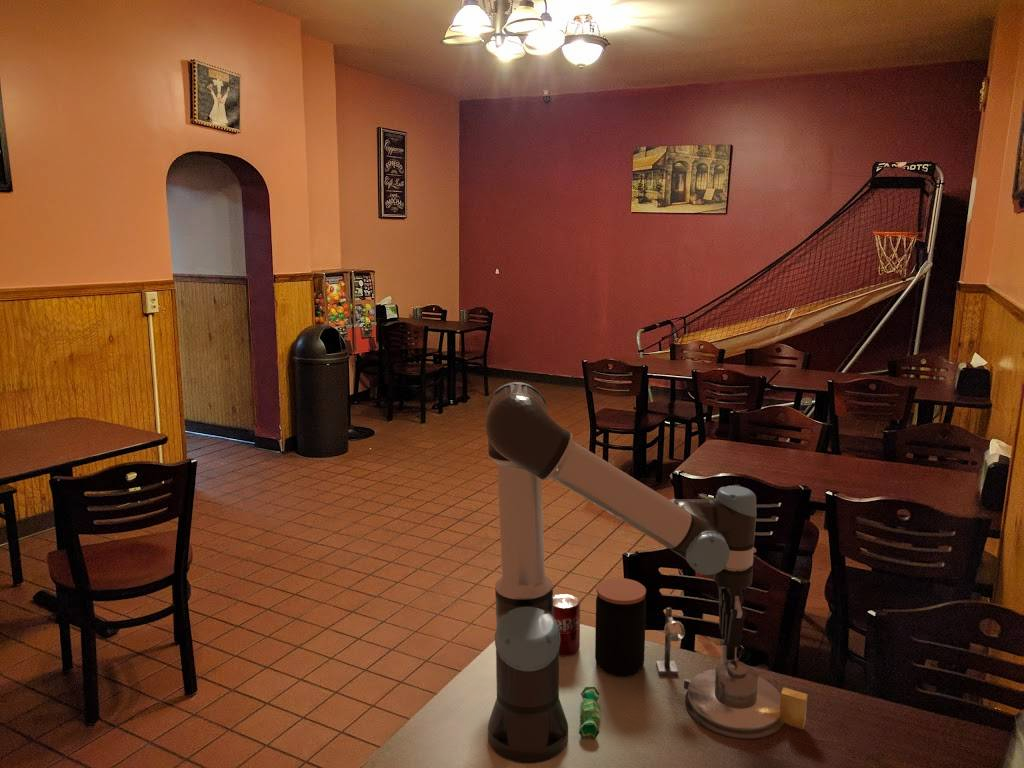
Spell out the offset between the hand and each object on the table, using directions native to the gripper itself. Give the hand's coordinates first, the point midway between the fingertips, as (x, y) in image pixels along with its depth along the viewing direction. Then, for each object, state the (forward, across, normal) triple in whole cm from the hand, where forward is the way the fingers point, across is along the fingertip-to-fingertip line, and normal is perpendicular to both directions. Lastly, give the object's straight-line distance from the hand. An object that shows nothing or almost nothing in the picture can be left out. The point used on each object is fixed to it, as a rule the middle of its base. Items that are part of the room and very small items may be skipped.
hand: (727, 670), depth 152 cm
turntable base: (+5, -6, 0) cm, 8 cm away
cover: (+2, -6, 0) cm, 7 cm away
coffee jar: (+5, +9, +21) cm, 23 cm away
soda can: (+5, +15, +33) cm, 37 cm away
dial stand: (+5, +4, +11) cm, 13 cm away
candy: (+5, -10, +29) cm, 31 cm away
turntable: (+4, -6, -1) cm, 7 cm away
